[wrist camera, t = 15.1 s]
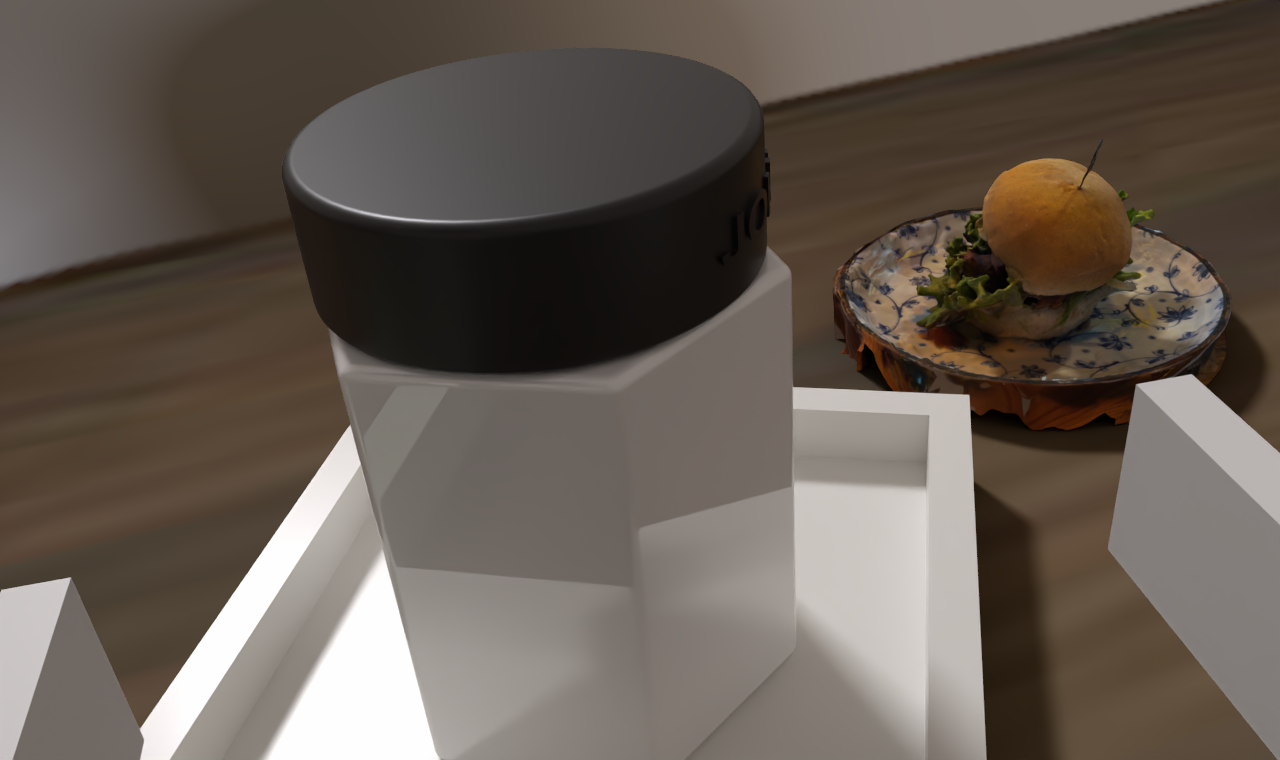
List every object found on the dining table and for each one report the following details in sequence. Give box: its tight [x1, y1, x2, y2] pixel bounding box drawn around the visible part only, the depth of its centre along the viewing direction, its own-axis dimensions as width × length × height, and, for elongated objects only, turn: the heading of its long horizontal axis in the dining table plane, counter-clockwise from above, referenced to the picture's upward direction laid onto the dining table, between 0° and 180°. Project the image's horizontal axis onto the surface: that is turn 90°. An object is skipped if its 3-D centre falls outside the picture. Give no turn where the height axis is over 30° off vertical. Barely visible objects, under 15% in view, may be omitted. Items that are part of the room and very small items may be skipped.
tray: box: [140, 387, 987, 760], centre depth 26 cm, size 16×16×2 cm
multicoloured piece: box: [833, 139, 1232, 430], centre depth 36 cm, size 12×12×8 cm
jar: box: [282, 48, 796, 760], centre depth 23 cm, size 9×8×12 cm
